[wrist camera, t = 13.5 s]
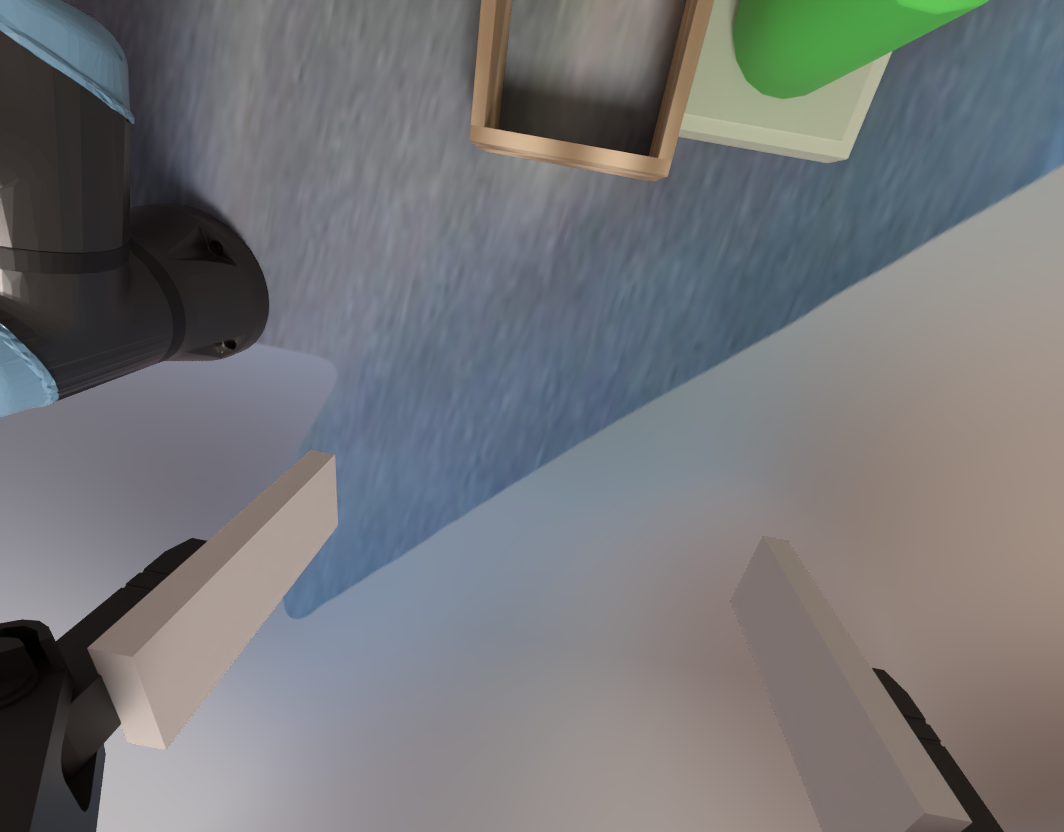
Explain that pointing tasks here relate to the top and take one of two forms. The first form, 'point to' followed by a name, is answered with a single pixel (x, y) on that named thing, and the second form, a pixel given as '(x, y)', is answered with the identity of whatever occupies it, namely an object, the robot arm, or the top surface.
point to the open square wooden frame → (571, 154)
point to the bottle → (827, 37)
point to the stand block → (772, 103)
